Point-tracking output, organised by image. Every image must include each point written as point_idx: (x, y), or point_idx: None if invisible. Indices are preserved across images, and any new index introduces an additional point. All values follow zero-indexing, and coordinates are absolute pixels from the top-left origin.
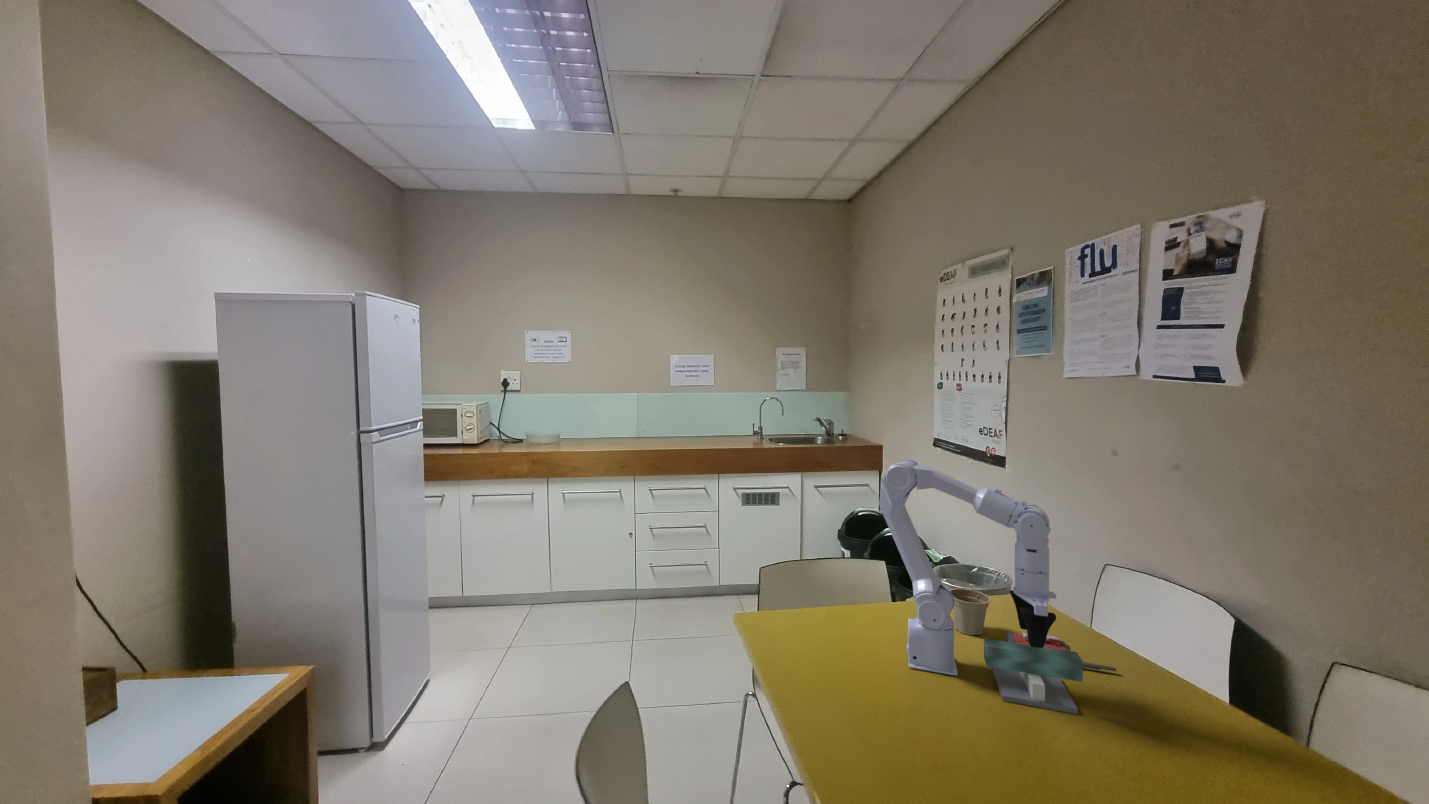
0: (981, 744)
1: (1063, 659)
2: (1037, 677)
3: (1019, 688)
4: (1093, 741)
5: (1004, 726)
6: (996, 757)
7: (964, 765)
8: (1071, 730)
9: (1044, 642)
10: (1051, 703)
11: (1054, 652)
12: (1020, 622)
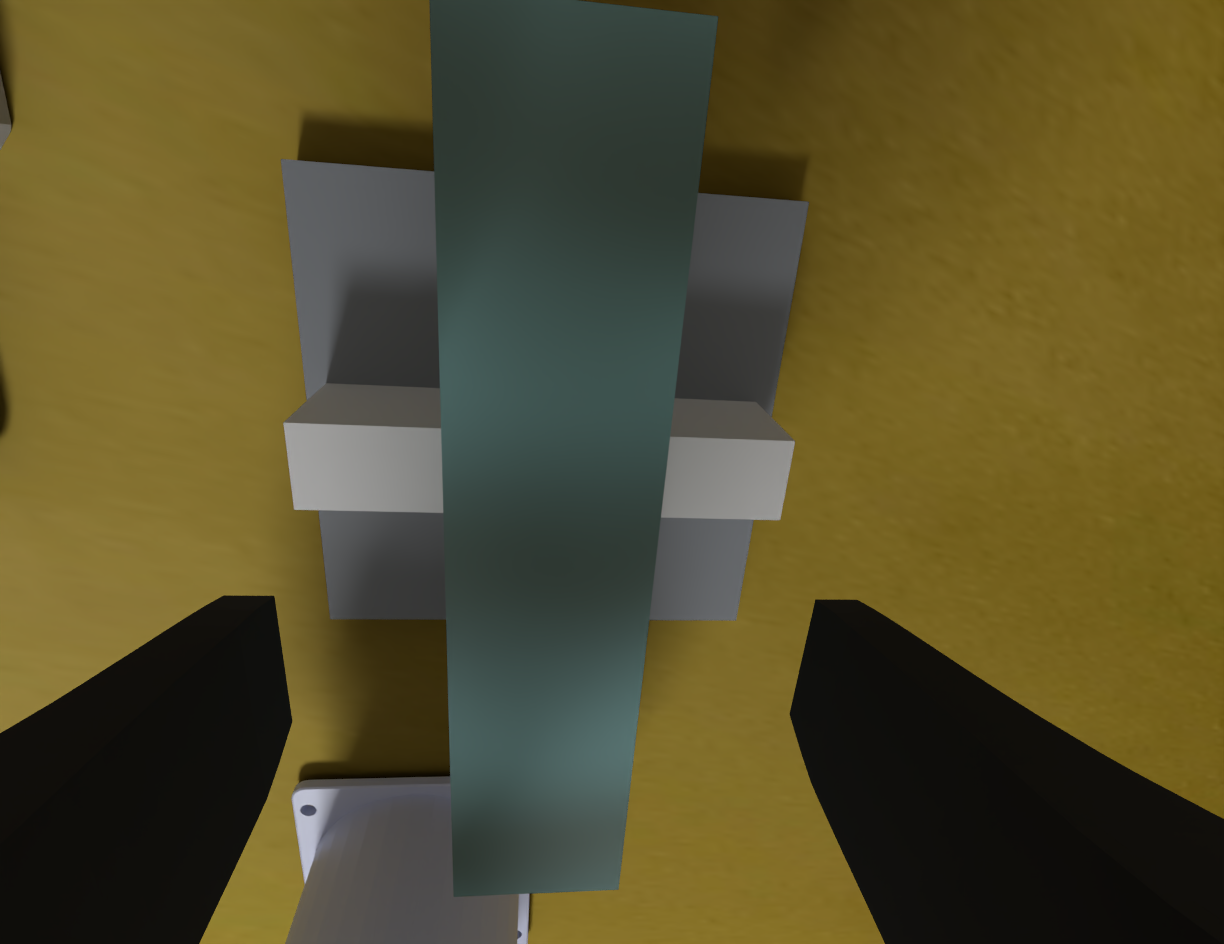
0: (1081, 729)
1: (686, 270)
2: (679, 462)
3: None
4: (1065, 221)
5: (955, 631)
6: (1158, 692)
7: (1191, 788)
8: (968, 313)
9: (916, 641)
10: (771, 366)
11: (554, 334)
12: (255, 810)
